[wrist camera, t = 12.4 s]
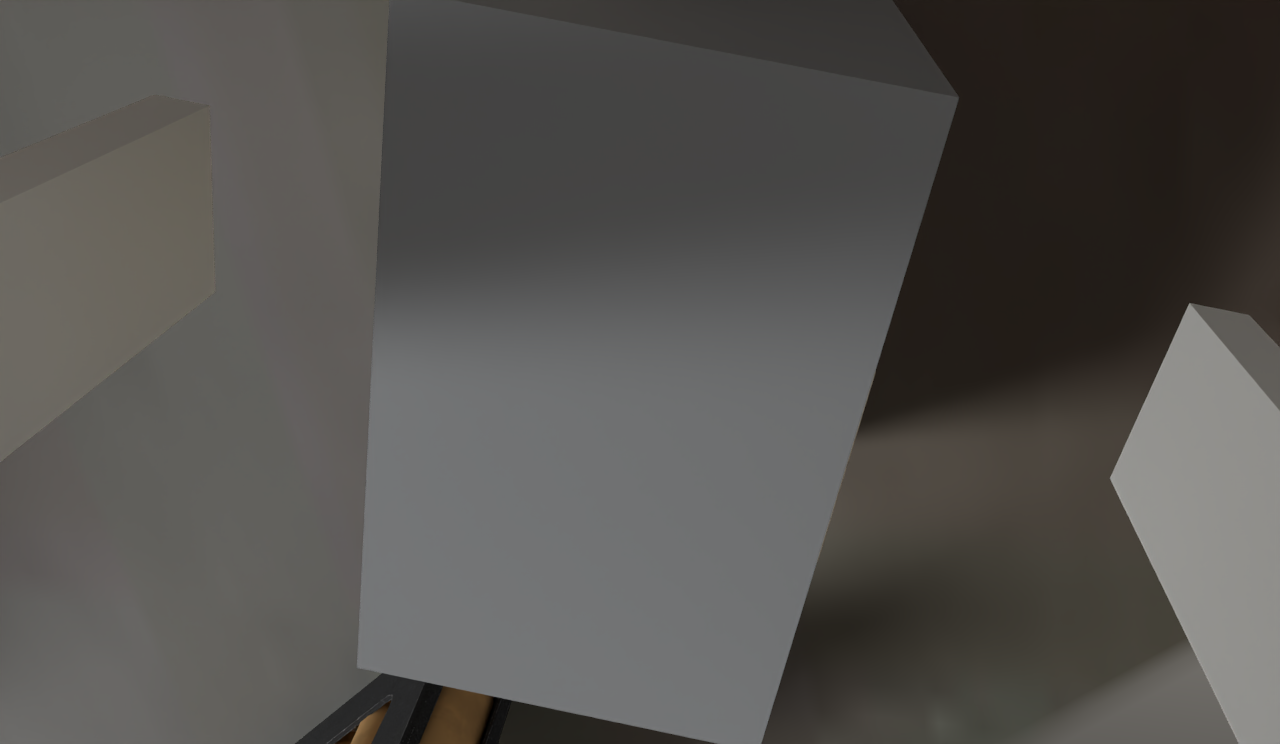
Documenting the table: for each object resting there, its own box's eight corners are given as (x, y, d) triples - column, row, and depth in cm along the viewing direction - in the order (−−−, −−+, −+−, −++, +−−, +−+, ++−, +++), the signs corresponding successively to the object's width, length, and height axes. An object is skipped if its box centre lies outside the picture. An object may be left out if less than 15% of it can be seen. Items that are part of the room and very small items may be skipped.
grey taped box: (491, 396, 19) (352, 667, 13) (543, -76, 15) (385, -14, 9) (767, 451, 19) (762, 753, 13) (888, -11, 15) (965, 98, 9)
